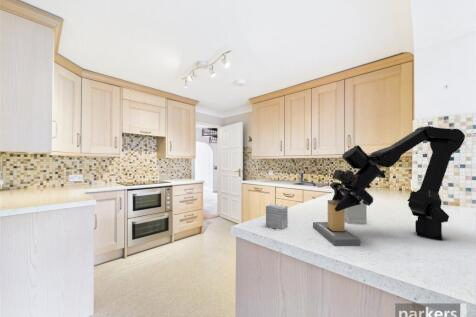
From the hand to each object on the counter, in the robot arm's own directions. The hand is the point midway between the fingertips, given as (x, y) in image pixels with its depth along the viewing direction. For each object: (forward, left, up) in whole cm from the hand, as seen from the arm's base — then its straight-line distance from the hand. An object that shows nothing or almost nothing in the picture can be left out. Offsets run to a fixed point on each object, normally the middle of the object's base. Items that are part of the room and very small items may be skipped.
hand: (332, 208), depth 73 cm
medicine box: (+20, +5, -10) cm, 23 cm away
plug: (-1, -1, -7) cm, 7 cm away
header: (-1, -1, -10) cm, 10 cm away
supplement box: (-1, -24, -10) cm, 26 cm away
